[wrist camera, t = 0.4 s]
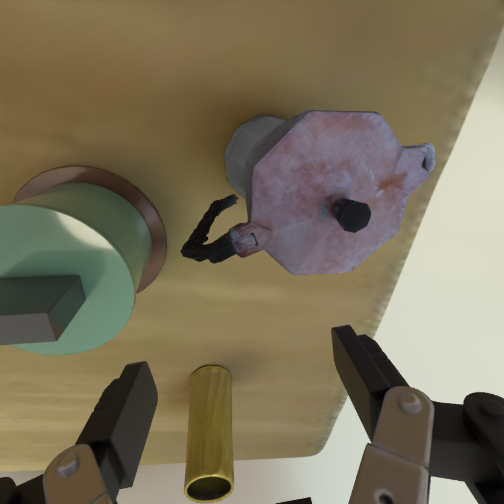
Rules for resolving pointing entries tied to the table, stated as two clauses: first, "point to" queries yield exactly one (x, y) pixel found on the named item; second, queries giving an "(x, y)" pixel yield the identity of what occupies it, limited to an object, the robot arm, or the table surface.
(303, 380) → the table surface
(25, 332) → the pot
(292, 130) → the moka pot
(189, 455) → the vase
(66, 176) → the trivet
